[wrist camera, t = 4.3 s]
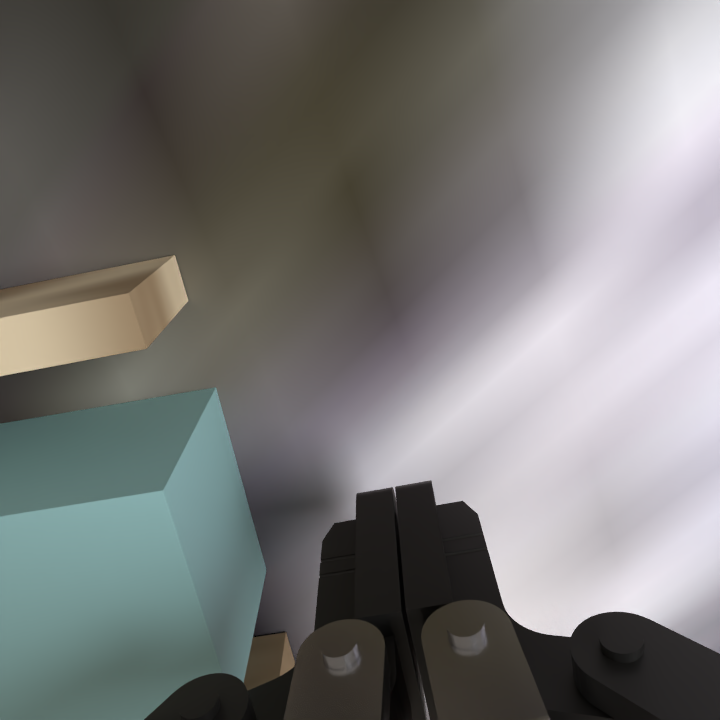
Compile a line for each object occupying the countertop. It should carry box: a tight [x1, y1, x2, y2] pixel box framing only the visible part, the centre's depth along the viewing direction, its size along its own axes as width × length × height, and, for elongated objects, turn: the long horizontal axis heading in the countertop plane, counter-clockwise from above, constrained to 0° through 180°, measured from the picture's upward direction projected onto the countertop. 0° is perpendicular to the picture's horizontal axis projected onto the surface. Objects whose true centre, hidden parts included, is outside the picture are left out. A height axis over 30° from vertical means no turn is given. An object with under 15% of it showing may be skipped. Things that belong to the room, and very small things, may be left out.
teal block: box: [0, 387, 266, 720], centre depth 14 cm, size 7×5×4 cm
